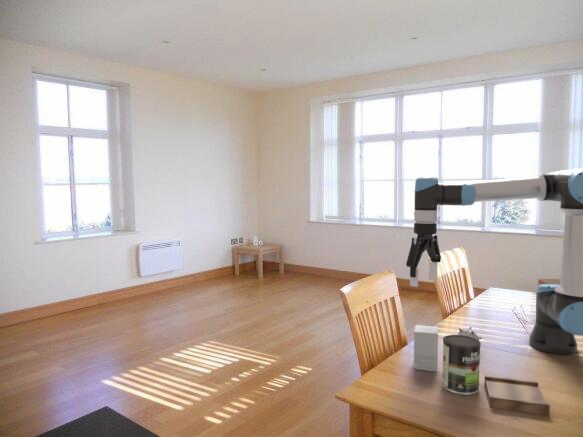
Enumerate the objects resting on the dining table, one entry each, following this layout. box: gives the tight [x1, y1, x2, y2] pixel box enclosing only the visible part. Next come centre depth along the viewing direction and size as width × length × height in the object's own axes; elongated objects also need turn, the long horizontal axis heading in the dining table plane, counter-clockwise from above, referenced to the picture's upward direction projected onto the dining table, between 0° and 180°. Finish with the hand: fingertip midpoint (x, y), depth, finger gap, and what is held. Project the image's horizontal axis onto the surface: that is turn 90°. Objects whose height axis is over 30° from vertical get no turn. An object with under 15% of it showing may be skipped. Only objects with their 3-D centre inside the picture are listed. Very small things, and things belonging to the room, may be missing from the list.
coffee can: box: [441, 334, 481, 396], centre depth 128 cm, size 10×10×14 cm
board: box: [484, 375, 551, 416], centre depth 121 cm, size 14×14×3 cm
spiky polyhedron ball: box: [457, 326, 483, 341], centre depth 156 cm, size 9×8×10 cm
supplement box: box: [413, 324, 439, 372], centre depth 142 cm, size 7×7×13 cm
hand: (423, 283), depth 151 cm, fingers open, 13 cm apart
